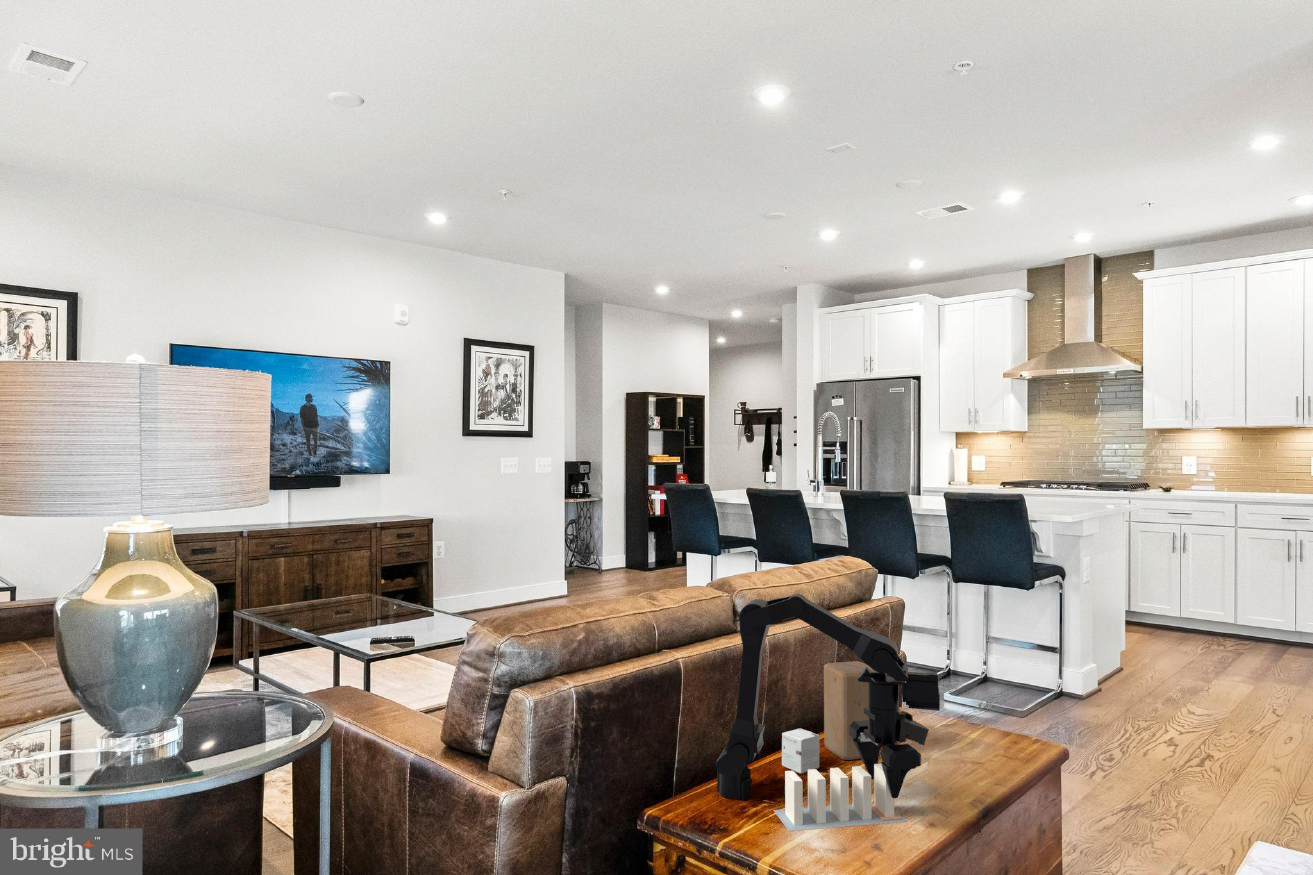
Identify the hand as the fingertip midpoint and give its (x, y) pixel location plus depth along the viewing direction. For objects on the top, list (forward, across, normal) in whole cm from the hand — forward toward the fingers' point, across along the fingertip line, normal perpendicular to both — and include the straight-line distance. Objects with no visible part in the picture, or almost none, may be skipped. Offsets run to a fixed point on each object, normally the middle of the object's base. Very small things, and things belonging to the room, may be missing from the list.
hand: (883, 788), depth 156 cm
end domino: (+4, 0, 0) cm, 4 cm away
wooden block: (+6, +34, -8) cm, 36 cm away
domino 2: (+4, 0, +14) cm, 14 cm away
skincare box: (+6, +28, +6) cm, 29 cm away
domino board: (+6, 0, +9) cm, 11 cm away
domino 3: (+4, 0, +9) cm, 10 cm away
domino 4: (+4, 0, +4) cm, 6 cm away
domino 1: (+4, 0, +18) cm, 19 cm away
